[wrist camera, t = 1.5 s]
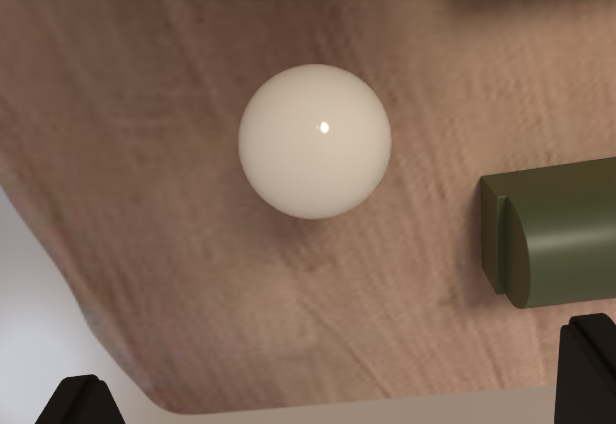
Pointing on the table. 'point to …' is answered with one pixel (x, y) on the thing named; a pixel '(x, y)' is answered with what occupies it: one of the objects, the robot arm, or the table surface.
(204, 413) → the table surface
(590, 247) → the olive bag
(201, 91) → the table surface
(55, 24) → the table surface
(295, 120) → the lightbulb
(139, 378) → the table surface
